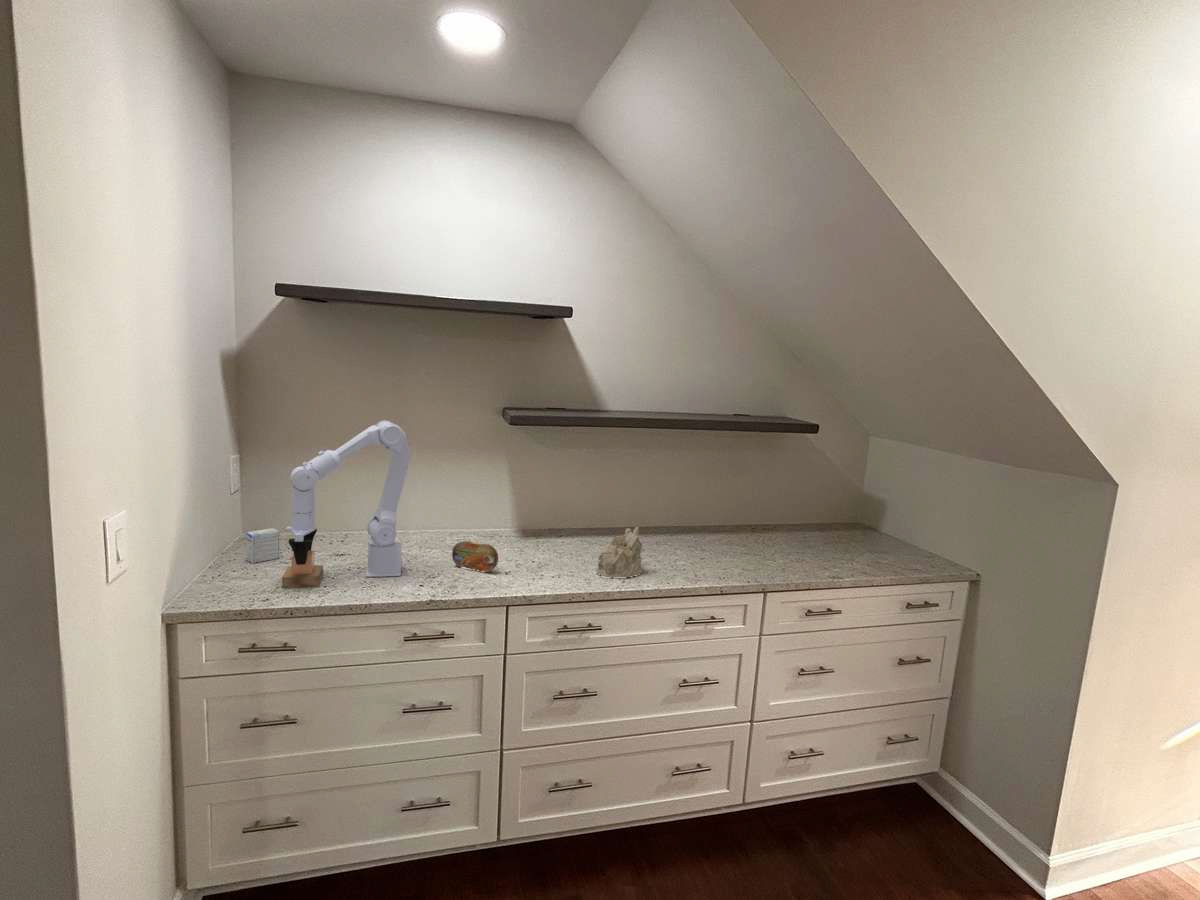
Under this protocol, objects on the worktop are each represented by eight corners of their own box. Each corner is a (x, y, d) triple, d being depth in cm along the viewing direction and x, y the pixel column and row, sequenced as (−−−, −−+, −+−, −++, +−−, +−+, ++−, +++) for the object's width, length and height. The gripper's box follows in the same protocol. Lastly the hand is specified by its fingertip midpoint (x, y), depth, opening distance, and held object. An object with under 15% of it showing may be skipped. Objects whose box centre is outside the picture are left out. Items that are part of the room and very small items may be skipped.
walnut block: (323, 575, 179) (323, 565, 178) (318, 586, 170) (318, 575, 170) (288, 576, 176) (288, 566, 176) (282, 588, 167) (282, 577, 167)
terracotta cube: (314, 567, 176) (314, 550, 175) (311, 573, 171) (311, 555, 170) (294, 568, 174) (294, 550, 174) (291, 574, 169) (291, 556, 169)
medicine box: (273, 555, 193) (273, 527, 192) (280, 558, 190) (279, 530, 189) (245, 560, 187) (245, 532, 186) (252, 564, 184) (252, 535, 183)
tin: (451, 566, 193) (451, 539, 192) (457, 563, 196) (457, 537, 195) (493, 575, 187) (494, 547, 186) (499, 572, 190) (500, 545, 189)
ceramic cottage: (630, 560, 210) (631, 516, 207) (650, 578, 194) (651, 532, 191) (585, 565, 204) (585, 521, 202) (602, 584, 189) (603, 537, 186)
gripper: (291, 505, 176) (291, 552, 178) (281, 518, 162) (282, 569, 164) (318, 505, 178) (319, 551, 180) (311, 517, 164) (311, 567, 166)
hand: (303, 559), depth 172 cm, fingers open, 7 cm apart
